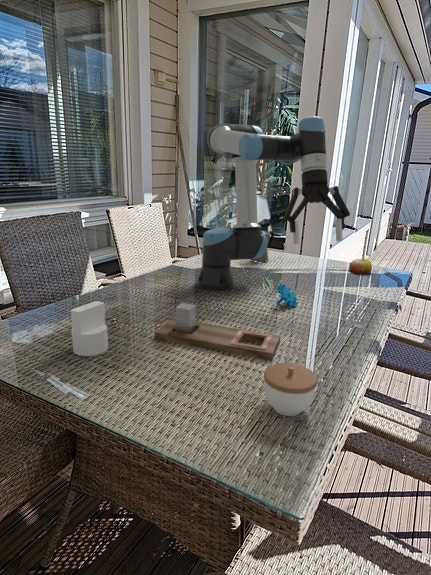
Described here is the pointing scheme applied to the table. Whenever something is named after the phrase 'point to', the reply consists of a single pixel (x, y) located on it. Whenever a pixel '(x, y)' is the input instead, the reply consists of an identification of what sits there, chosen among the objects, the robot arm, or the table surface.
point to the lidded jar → (289, 388)
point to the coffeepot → (265, 255)
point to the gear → (287, 295)
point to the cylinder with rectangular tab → (89, 329)
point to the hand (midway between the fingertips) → (318, 242)
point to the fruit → (360, 266)
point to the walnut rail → (222, 339)
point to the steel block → (185, 318)
